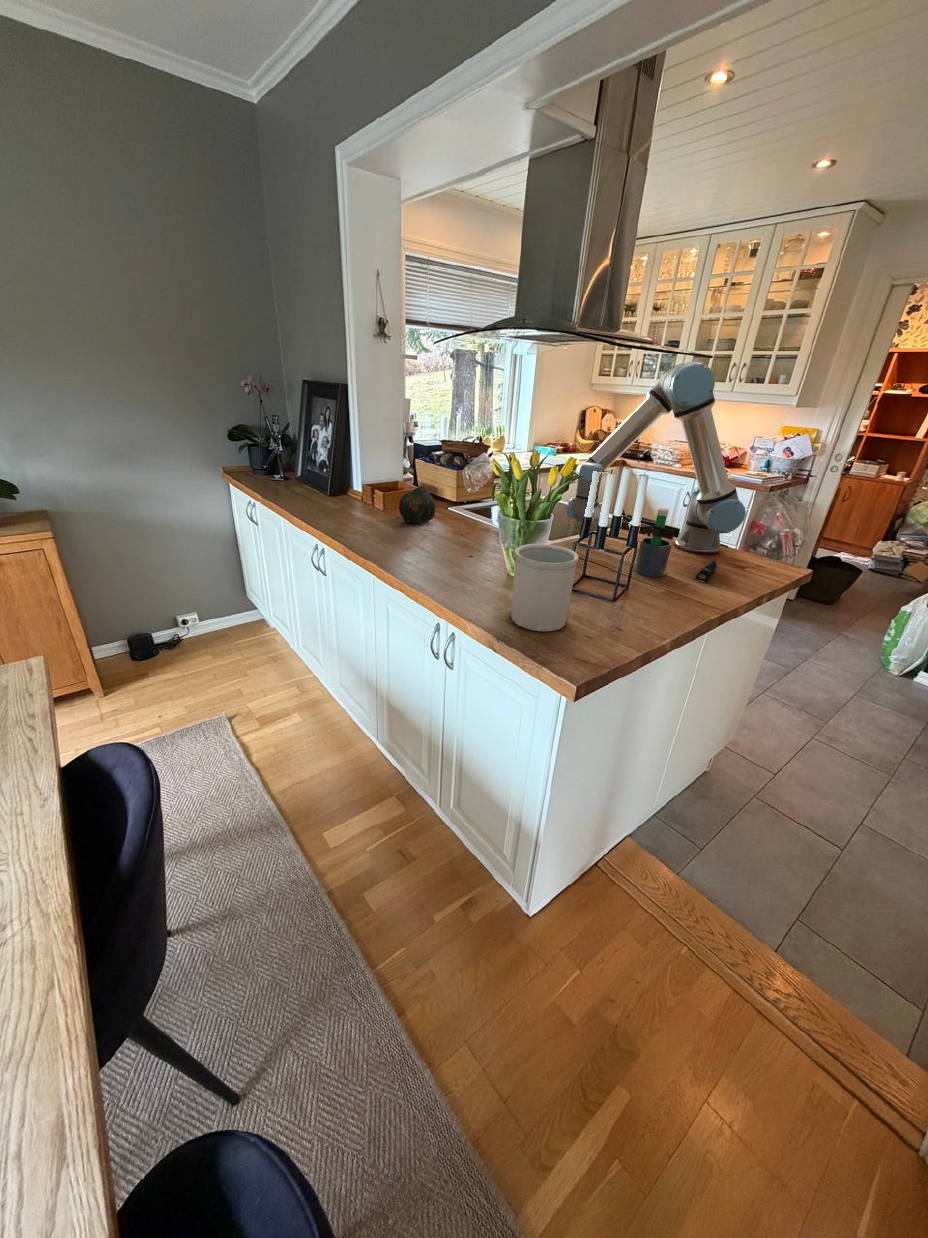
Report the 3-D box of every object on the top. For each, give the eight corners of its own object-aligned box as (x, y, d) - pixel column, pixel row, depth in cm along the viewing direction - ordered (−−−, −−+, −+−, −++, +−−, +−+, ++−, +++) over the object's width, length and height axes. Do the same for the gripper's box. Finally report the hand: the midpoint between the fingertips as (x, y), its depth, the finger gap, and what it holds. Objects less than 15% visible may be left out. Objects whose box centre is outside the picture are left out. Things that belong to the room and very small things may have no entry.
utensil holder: (526, 601, 131) (532, 539, 123) (578, 617, 123) (588, 551, 115) (498, 621, 120) (503, 553, 112) (553, 639, 112) (562, 568, 104)
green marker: (658, 552, 153) (668, 508, 147) (658, 555, 151) (668, 511, 144) (648, 551, 154) (658, 507, 148) (648, 554, 151) (658, 509, 145)
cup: (663, 569, 158) (670, 539, 153) (665, 578, 150) (672, 547, 146) (635, 565, 160) (641, 536, 156) (634, 574, 152) (641, 544, 148)
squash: (386, 509, 193) (410, 482, 186) (402, 503, 206) (424, 478, 199) (411, 535, 194) (435, 510, 187) (425, 527, 207) (448, 504, 200)
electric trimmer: (718, 570, 160) (721, 561, 158) (707, 582, 148) (709, 573, 147) (706, 567, 162) (708, 558, 160) (694, 579, 150) (696, 570, 149)
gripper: (619, 524, 167) (685, 541, 152) (593, 531, 158) (659, 550, 142) (623, 502, 164) (691, 518, 148) (596, 508, 154) (665, 525, 139)
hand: (675, 534), depth 145 cm, fingers closed on green marker, 3 cm apart
